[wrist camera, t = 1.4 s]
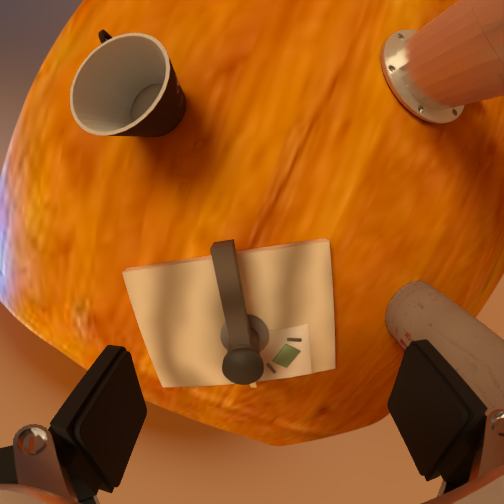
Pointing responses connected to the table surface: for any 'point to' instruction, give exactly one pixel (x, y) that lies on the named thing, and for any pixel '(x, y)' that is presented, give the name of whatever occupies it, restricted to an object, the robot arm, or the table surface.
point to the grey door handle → (236, 319)
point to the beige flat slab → (257, 305)
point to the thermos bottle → (450, 338)
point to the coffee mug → (127, 88)
